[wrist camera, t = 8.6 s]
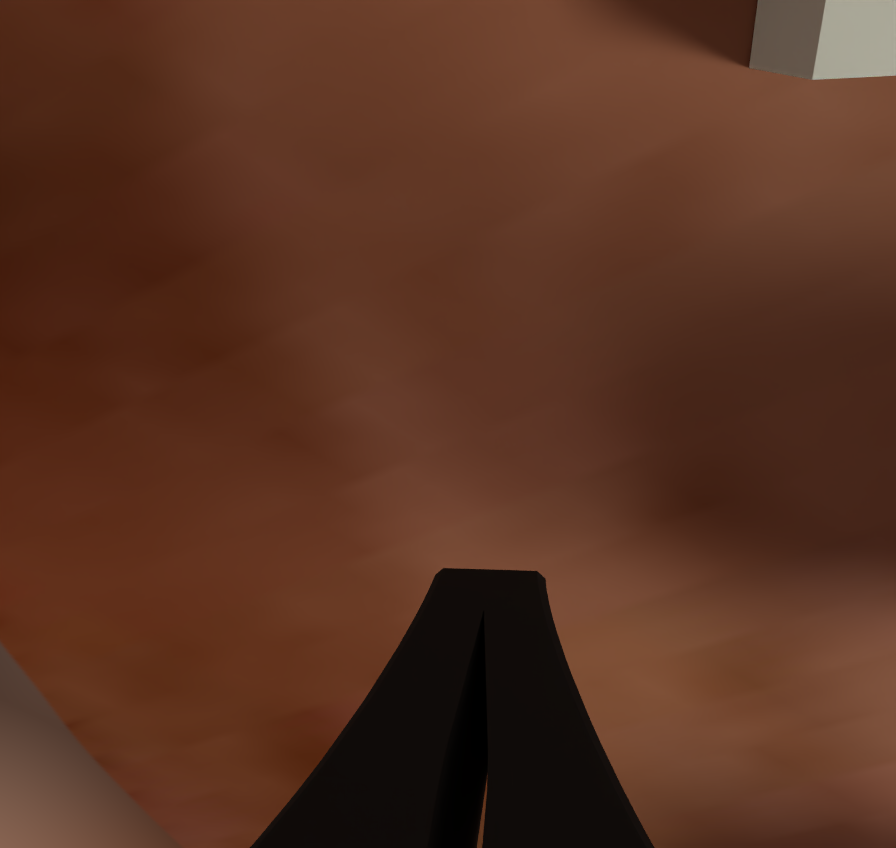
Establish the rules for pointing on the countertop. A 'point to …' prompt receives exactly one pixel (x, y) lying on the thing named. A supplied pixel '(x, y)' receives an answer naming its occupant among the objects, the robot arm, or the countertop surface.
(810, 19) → the socket block
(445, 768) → the robot arm
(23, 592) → the countertop surface
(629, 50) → the countertop surface
